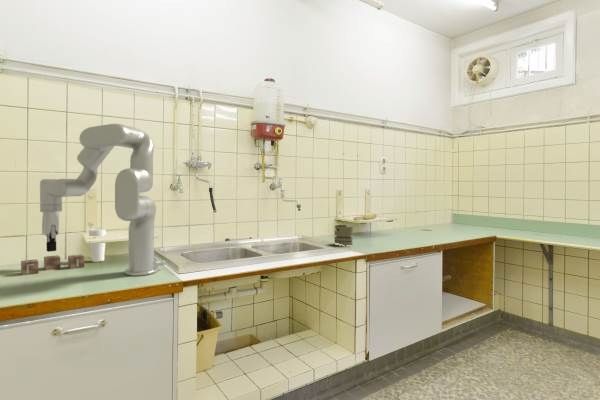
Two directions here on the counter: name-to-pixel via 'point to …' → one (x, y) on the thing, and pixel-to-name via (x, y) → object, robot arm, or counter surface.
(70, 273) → the counter surface
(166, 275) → the counter surface
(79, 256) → the block one
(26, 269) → the block seven
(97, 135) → the robot arm
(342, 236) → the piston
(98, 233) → the white cup
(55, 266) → the plain block
